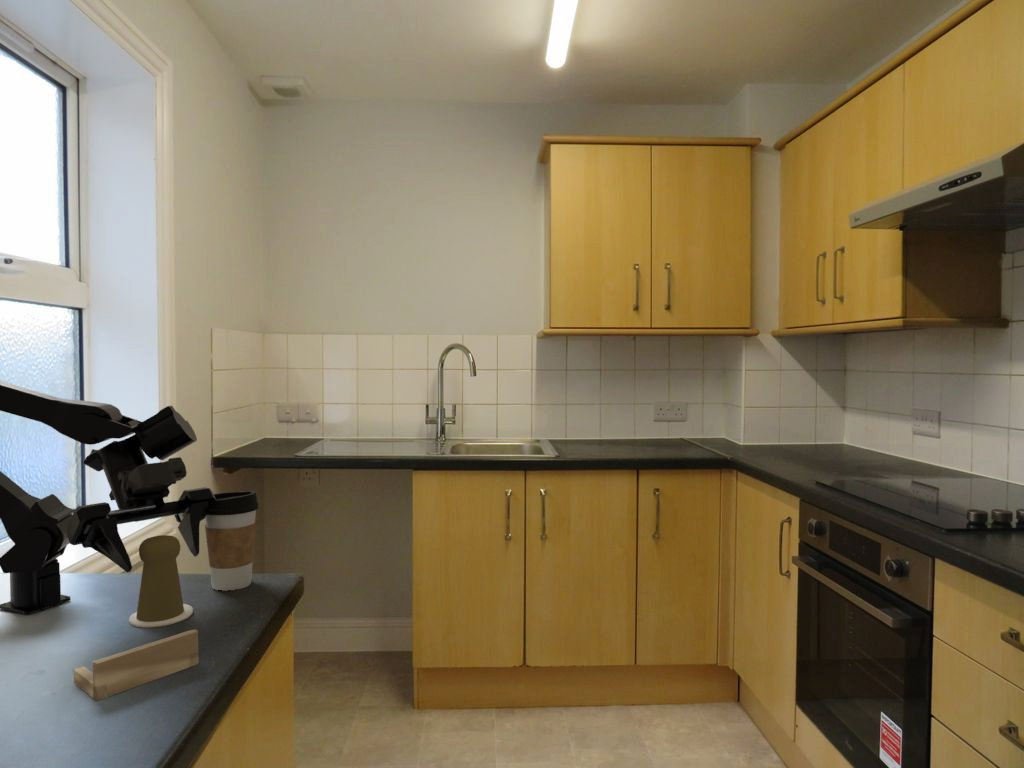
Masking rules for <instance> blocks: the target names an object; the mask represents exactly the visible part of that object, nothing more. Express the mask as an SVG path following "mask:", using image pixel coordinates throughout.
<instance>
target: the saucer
mask: <svg viewBox="0 0 1024 768" xmlns="http://www.w3.org/2000/svg"><path fill="white" fill-rule="evenodd" d="M183 606H184V612H183V613H182V614H180V615H179V616H177V617H174V618H171V619H168V620H163V621H156V622H143V621H139V620H138V619H137V618H136V616H137V611H136V612H134V613H132V614H131V615H130V616H129V618H128V619H129V621H128V622H129V624H130V625H131V626H133V627H135V628H136V627H137V628H160V627H165V626H169V625H174V624H177V623H180V622H182V621H185V620H187V619H188V618H190V617H191V616H192V615H193V613H194V608H193V607H192V605H190V604H187V603H183Z"/></svg>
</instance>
